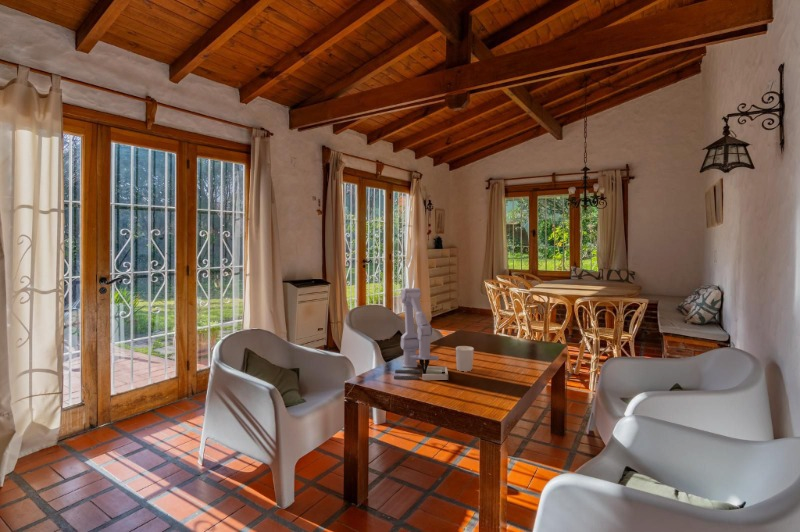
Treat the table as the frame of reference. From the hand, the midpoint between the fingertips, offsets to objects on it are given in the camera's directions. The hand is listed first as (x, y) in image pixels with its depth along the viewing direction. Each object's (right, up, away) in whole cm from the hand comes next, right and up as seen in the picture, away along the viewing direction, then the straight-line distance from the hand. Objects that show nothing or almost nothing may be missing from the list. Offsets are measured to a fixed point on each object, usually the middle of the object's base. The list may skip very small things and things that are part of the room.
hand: (424, 373), depth 223 cm
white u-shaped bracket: (+5, -1, 0) cm, 6 cm away
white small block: (+3, -1, 0) cm, 3 cm away
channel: (-9, -1, +1) cm, 9 cm away
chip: (+7, -1, -1) cm, 7 cm away
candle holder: (+23, -1, +11) cm, 25 cm away
